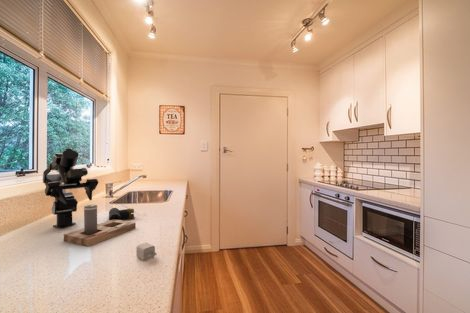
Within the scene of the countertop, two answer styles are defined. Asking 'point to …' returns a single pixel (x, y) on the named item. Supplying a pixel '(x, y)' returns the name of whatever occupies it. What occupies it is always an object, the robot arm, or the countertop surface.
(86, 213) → the grey cylinder
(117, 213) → the pipe connector
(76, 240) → the socket plate
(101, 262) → the countertop surface
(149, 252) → the usb wall charger
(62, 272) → the countertop surface
